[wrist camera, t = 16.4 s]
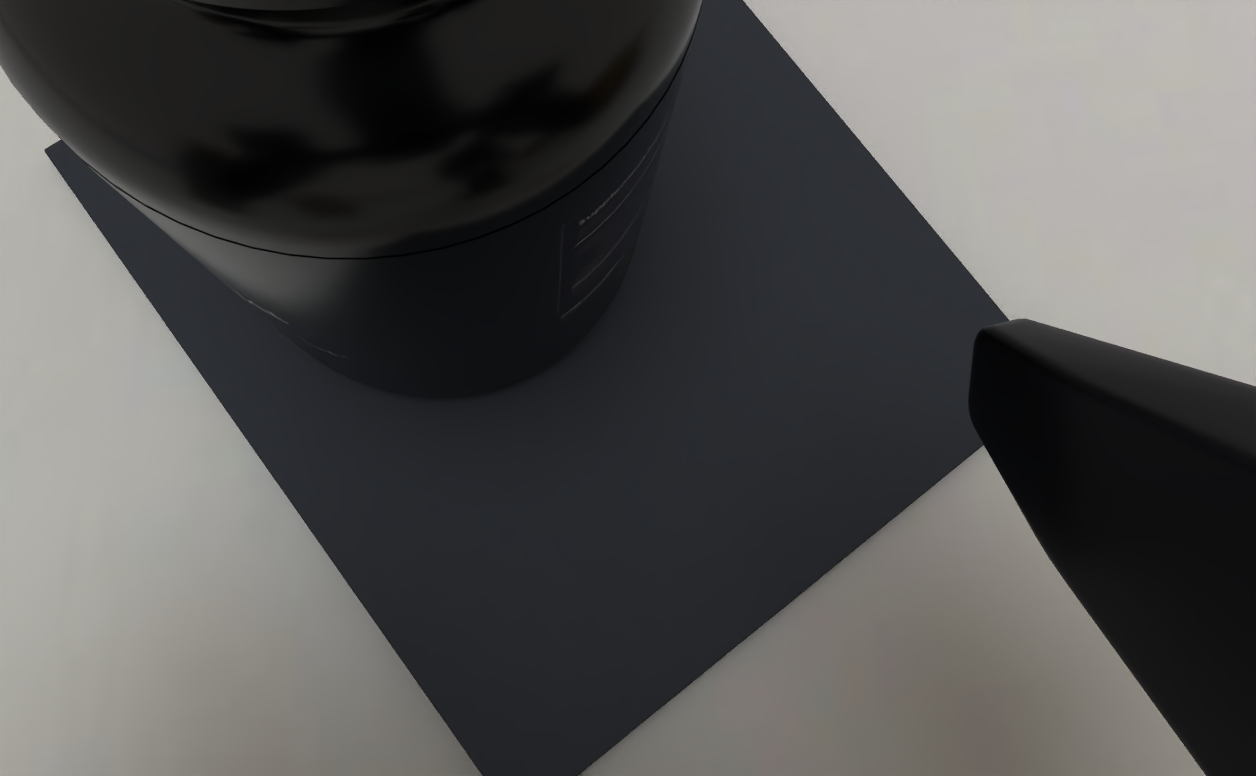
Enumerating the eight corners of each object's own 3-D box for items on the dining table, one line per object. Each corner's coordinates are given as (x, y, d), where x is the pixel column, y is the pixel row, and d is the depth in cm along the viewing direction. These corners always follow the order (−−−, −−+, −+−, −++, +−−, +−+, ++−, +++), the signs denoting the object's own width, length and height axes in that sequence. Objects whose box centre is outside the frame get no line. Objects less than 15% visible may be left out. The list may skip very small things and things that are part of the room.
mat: (1052, 385, 17) (1061, 381, 17) (518, 820, 15) (517, 825, 15) (592, -168, 19) (593, -181, 18) (51, 157, 17) (42, 149, 16)
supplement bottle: (190, 346, 16) (-857, -302, 4) (324, -1, 17) (-174, -1218, 6) (583, 456, 16) (645, 128, 4) (683, 102, 17) (941, -880, 6)
